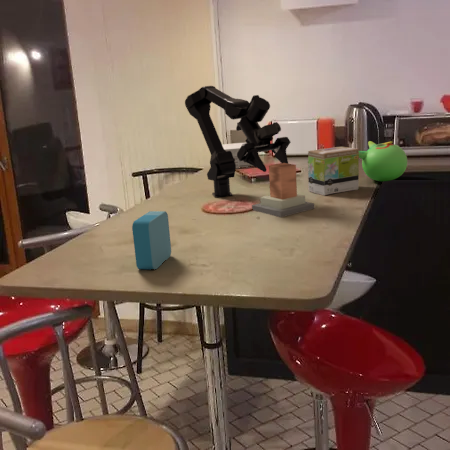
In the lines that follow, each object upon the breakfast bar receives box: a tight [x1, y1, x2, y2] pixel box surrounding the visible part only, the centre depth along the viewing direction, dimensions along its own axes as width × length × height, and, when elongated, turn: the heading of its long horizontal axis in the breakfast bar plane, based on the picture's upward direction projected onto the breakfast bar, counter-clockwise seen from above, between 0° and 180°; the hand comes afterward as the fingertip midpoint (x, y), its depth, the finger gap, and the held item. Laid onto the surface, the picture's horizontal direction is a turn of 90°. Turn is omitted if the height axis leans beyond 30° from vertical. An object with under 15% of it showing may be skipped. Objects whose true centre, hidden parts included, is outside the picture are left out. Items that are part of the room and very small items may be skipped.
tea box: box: [307, 146, 360, 196], centre depth 210 cm, size 15×10×15 cm
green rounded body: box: [359, 140, 408, 183], centre depth 220 cm, size 18×17×15 cm
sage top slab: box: [259, 193, 306, 209], centre depth 190 cm, size 10×10×2 cm
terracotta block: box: [268, 162, 298, 199], centre depth 188 cm, size 6×6×10 cm
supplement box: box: [221, 141, 254, 169], centre depth 277 cm, size 17×13×9 cm
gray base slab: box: [251, 201, 315, 218], centre depth 191 cm, size 14×14×2 cm
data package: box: [131, 210, 172, 270], centre depth 146 cm, size 12×4×12 cm, turn 164°
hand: (276, 168), depth 189 cm, fingers open, 9 cm apart
